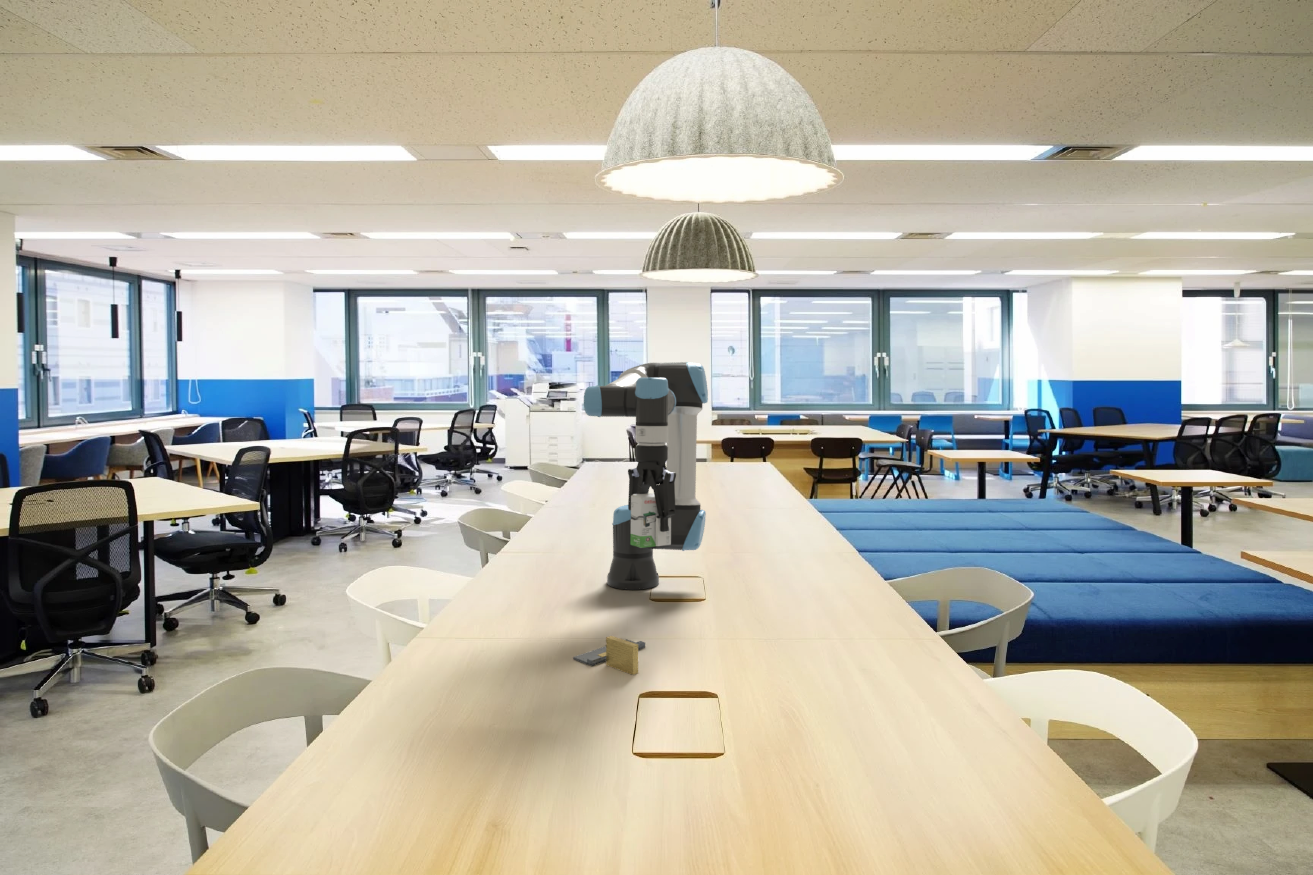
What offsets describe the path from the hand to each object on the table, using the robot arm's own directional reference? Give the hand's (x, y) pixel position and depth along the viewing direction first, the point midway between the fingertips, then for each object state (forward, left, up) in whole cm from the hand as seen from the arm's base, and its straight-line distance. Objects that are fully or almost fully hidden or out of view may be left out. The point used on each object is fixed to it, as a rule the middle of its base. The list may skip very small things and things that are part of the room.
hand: (651, 543), depth 187 cm
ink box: (0, 0, -1) cm, 1 cm away
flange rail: (+7, -15, -22) cm, 28 cm away
